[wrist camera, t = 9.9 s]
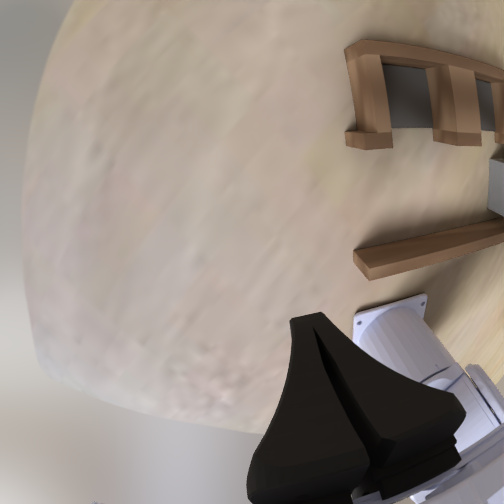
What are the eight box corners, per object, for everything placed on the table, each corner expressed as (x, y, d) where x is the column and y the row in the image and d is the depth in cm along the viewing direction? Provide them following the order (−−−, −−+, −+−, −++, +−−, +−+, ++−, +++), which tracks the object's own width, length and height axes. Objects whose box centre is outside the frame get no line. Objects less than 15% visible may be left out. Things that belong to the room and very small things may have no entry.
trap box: (527, 218, 21) (544, 227, 19) (353, 262, 22) (368, 281, 19) (527, 87, 15) (546, 89, 12) (330, 49, 15) (347, 38, 12)
